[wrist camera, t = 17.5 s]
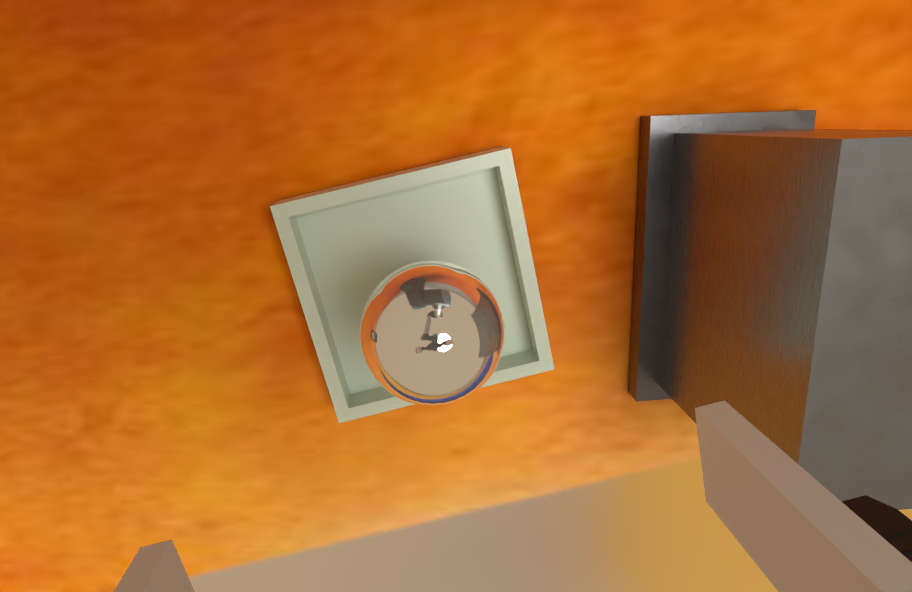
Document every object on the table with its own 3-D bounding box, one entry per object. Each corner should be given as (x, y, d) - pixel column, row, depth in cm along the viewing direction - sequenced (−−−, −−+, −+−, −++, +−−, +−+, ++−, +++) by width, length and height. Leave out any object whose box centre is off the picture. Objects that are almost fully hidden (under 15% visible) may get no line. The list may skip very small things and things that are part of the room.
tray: (343, 402, 40) (339, 423, 37) (279, 200, 36) (269, 206, 33) (544, 352, 40) (554, 369, 37) (502, 146, 36) (510, 148, 34)
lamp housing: (627, 391, 41) (754, 541, 27) (641, 116, 36) (806, 111, 22) (768, 381, 42) (968, 522, 27) (800, 110, 37) (1065, 102, 22)
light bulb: (469, 222, 37) (511, 270, 25) (482, 329, 39) (527, 419, 27) (353, 239, 36) (342, 296, 25) (373, 347, 38) (371, 447, 27)
